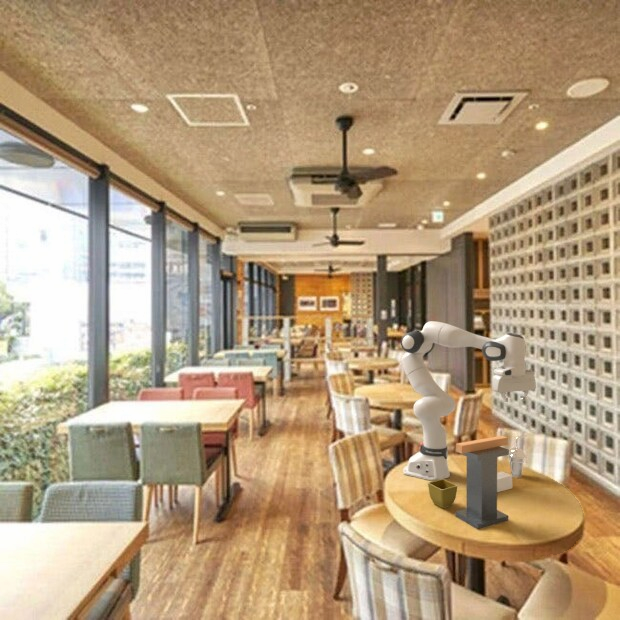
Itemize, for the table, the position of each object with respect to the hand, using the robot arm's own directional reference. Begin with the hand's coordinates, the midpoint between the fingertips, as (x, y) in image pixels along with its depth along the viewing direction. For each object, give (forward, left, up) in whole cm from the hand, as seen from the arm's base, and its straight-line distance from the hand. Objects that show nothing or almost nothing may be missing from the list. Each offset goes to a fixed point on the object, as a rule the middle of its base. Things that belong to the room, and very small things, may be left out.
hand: (514, 401), depth 209 cm
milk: (-3, +7, -38) cm, 39 cm away
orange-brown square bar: (-11, -32, -13) cm, 36 cm away
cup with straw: (+1, +22, -41) cm, 47 cm away
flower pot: (-27, -26, -41) cm, 56 cm away
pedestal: (-11, -32, -41) cm, 53 cm away
